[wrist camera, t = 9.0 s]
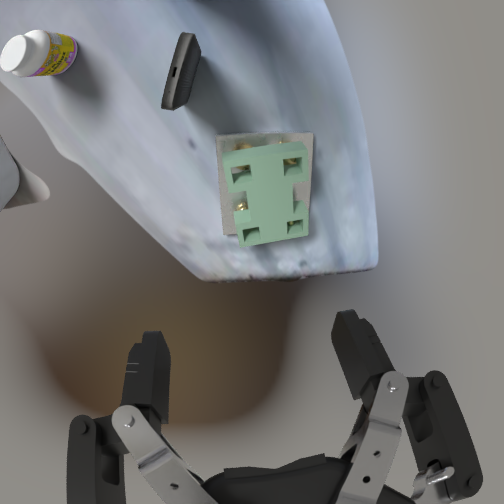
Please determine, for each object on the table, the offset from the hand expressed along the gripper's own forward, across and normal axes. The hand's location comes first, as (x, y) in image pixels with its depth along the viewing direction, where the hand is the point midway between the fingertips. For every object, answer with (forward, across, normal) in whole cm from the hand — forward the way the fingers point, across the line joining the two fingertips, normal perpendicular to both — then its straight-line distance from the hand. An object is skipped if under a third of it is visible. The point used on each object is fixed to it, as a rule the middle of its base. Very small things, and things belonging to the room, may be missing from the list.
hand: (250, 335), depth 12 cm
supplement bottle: (+32, +24, -21) cm, 45 cm away
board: (+28, -6, +5) cm, 29 cm away
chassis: (+32, -6, +5) cm, 33 cm away
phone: (+32, +4, -12) cm, 35 cm away
